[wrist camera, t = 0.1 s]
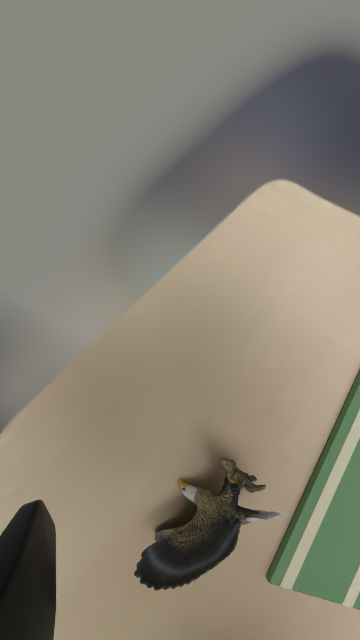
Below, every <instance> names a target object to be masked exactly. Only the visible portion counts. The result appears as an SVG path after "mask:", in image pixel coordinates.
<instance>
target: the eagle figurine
mask: <svg viewBox="0 0 360 640" xmlns="http://www.w3.org/2000/svg"><path fill="white" fill-rule="evenodd" d="M221 464H222V466H223V467H225V481H224V484H223V486H222V489H221V491H220V492H219V493H218V494H216V493H214V492H212V491H210V490H206V489H203V488H197V487H193V486H191V485H189V484H187V483H185V482H184V481H182V479H181V478H180V479H179V480H178V483H179V486H180V488H181V492H182V493H183V494H184V495H185V496H186V497H187V498H188V499H189V500H191V501H192V502H194V503H195V504H196V505H197V512H196V514H195V516H194V517H193V519H192V520H191V521H190V522H189V523H187V524H185V525H183V526H180V527H178V528H173V529H167V530H161V531H158V532H156V533H155V535H156V536H157V537H156V539H155V540H156V541H157V542H155V543H153V544H152V545H150V546H149V547H148V548H146V549H145V550H144V551H143V552H142V555H141V557H142V559H141V560H140V561H139V562H138V564H137V570H136V571H135V573H134V575H135V576H136V577H137V578H141V579H140V583H141V584H145V585H146V586H147V588H151V587H154V590H155V591H156V590H160V589H162V588H163V589H164V590H166V589H168V588H172V589H174V588H176V587H178V586H179V587H182V586H183V585H184V584H189V583H191V582H192V581H193V580H196V579H197V578H199V577H200V576H201V575H203V574H204V573H206V572H207V571H209V570H211V569H213V568H214V567H215V566H217V565H218V564H219V563H220V562H221V561H222V560H224V559H225V558H226V557H228V556H229V555H230V554H231V552H232V551H233V550H234V549H235V547H236V544H237V539H238V534H239V532H240V530H239V529H240V527H241V525H243V524H247V523H250V522H254V521H258V520H264V519H266V520H268V519H272V518H278V517H281V514H280V513H276V512H266V511H260V510H251V509H247V508H243V507H240V506H238V495H239V494H240V489H242V488H243V486H244V487H245V488H246V489H247V491H249V492H250V493H253V492H255V491H261V490H263V489H265V487H266V485H255V484H253V483H252V482H251V481H256V480H257V479H256V477H255V476H253V475H251V476H249V475H248V474H247V473H244V472H243V471H241V470H239V469H238V467H237V466H236V463H235V462H234V461H231V462H230V461H229V460H227V459H226V458H223V459H222V461H221Z"/></svg>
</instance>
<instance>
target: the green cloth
mask: <svg viewBox="0 0 360 640" xmlns="http://www.w3.org/2000/svg"><path fill="white" fill-rule="evenodd" d="M266 578H267V579H268V581H269V583H271V584H274V585H278V586H279V587H282V588H285V589H289V590H295V591H298V592H302V593H305V594H308V595H312V596H315V597H319V598H322V599H326V600H329V601H332V602H336V603H339V604H342V605H343V606H347V607H350V608H356V609H360V371H359V373H358V376H357V378H356V380H355V382H354V384H353V387H352V389H351V391H350V393H349V395H348V398H347V400H346V402H345V404H344V406H343V409H342V411H341V413H340V415H339V418H338V420H337V422H336V424H335V426H334V429H333V431H332V433H331V435H330V437H329V440H328V442H327V444H326V446H325V448H324V451H323V453H322V455H321V457H320V459H319V462H318V464H317V466H316V468H315V470H314V473H313V475H312V477H311V479H310V482H309V484H308V486H307V488H306V490H305V493H304V495H303V497H302V499H301V501H300V504H299V506H298V508H297V510H296V512H295V515H294V517H293V519H292V521H291V523H290V526H289V528H288V530H287V532H286V535H285V537H284V539H283V541H282V543H281V546H280V548H279V550H278V552H277V554H276V557H275V559H274V561H273V563H272V565H271V568H270V570H269V572H268V574H267V576H266Z"/></svg>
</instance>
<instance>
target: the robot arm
mask: <svg viewBox="0 0 360 640" xmlns="http://www.w3.org/2000/svg"><path fill="white" fill-rule="evenodd" d="M55 613H56V531H55V525H54V522H53V520H52V518H51V516H50V514H49V512H48V510H47V508H46V506H45V504H44V503H43V501H42V500H36V501H33V502H30V503H27V504H25V505H23V506H22V507H21V508H20V509H19V510H18V512H17V513H16V514H15V516H14V517H13V519H12V520H11V521H10V523H9V524H8V526H7V527H6V528H5V530H4V531H3V533H2V534H1V535H0V640H53V637H54V626H55Z"/></svg>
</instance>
